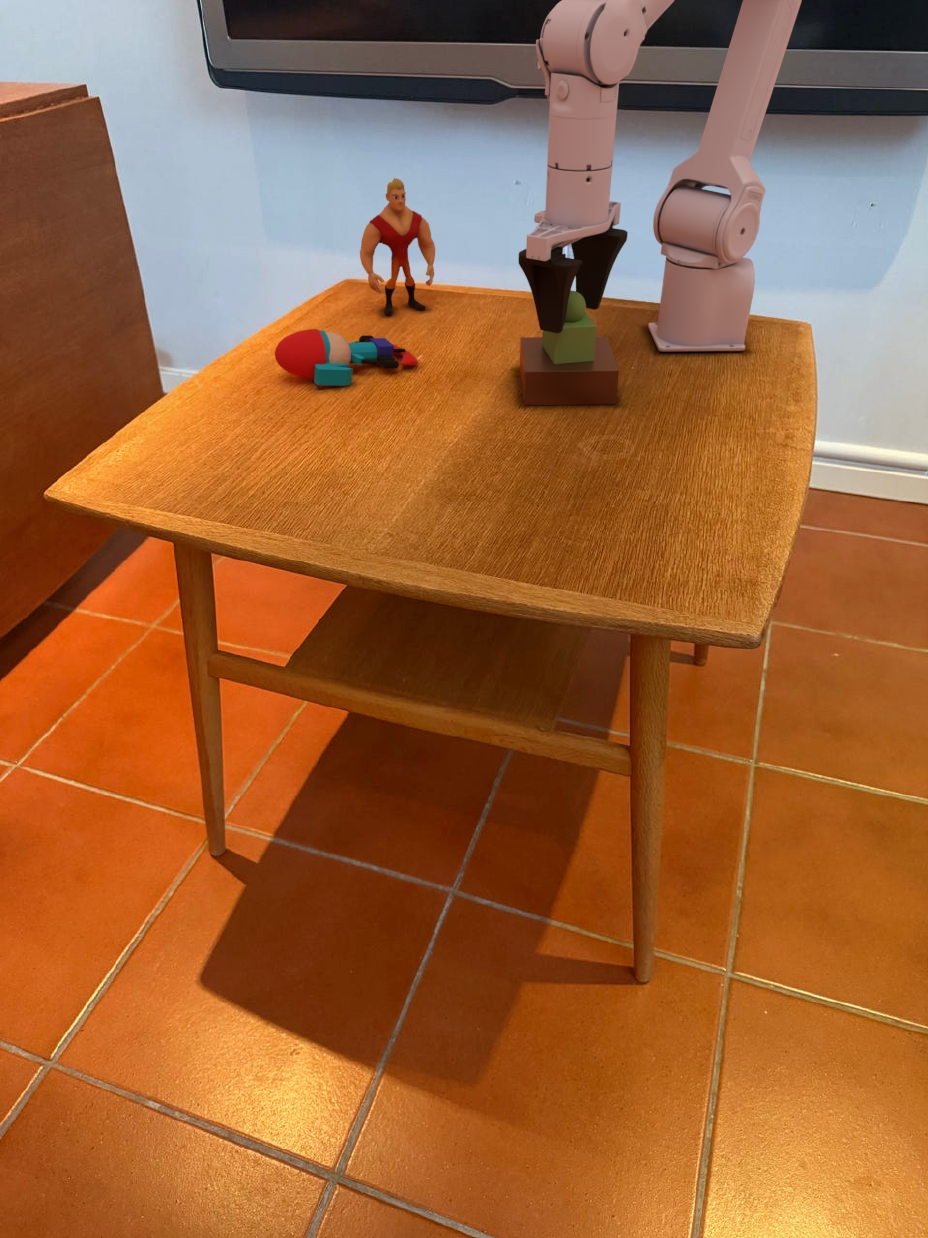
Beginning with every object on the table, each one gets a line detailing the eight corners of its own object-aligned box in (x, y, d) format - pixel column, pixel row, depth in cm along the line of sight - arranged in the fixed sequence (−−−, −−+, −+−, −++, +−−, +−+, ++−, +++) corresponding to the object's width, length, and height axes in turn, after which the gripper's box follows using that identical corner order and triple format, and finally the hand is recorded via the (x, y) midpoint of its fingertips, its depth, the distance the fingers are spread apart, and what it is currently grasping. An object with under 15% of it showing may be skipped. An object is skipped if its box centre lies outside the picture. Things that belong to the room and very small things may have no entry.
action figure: (371, 320, 106) (361, 184, 97) (362, 311, 109) (350, 178, 99) (443, 308, 109) (440, 175, 100) (432, 300, 112) (428, 169, 102)
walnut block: (604, 368, 94) (607, 336, 91) (615, 404, 87) (619, 370, 84) (519, 369, 94) (520, 337, 92) (524, 405, 87) (525, 371, 84)
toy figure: (391, 359, 100) (263, 363, 93) (396, 316, 97) (265, 317, 90) (420, 388, 95) (287, 394, 88) (427, 344, 92) (290, 347, 85)
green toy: (580, 342, 90) (584, 281, 86) (593, 361, 86) (599, 298, 83) (541, 345, 90) (544, 284, 86) (554, 364, 86) (557, 301, 82)
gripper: (578, 145, 84) (569, 290, 92) (497, 174, 75) (495, 333, 83) (646, 153, 81) (630, 302, 89) (571, 184, 71) (561, 348, 80)
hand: (570, 318), depth 86 cm, fingers open, 7 cm apart
